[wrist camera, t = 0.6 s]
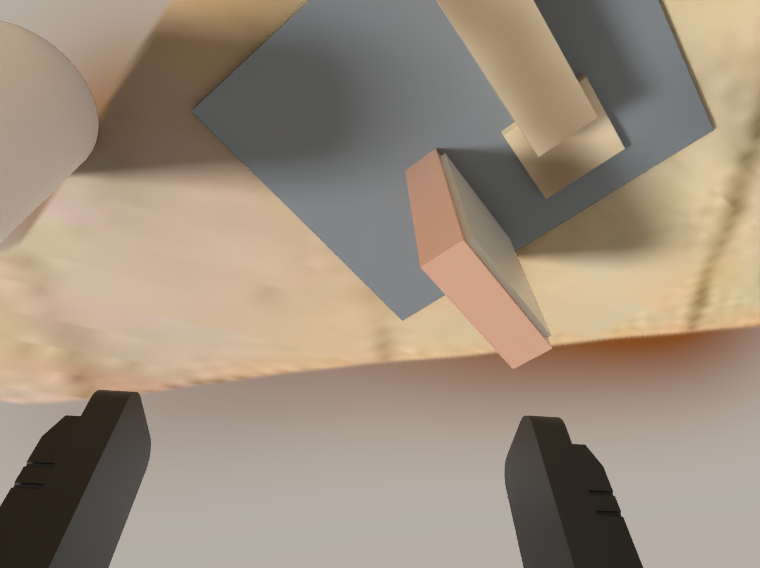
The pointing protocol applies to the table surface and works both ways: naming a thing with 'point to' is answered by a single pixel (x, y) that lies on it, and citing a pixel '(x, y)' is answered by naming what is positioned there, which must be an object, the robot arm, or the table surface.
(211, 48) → the table surface
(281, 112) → the mat
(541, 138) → the beige pillar on base
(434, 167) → the tile
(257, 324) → the table surface
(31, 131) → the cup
